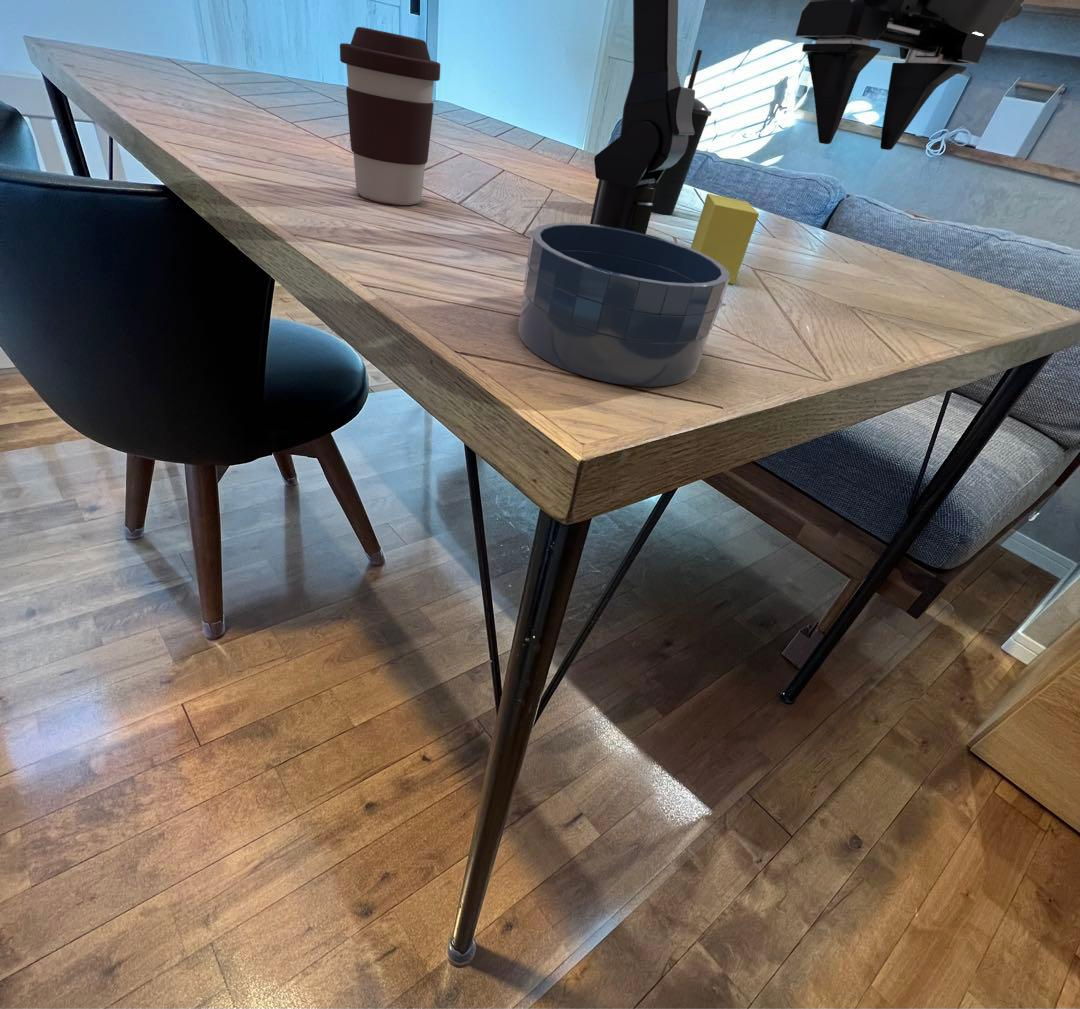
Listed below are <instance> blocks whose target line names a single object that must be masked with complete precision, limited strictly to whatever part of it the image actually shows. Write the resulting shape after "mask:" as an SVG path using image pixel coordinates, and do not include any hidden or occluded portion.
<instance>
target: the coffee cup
mask: <svg viewBox="0 0 1080 1009" xmlns="http://www.w3.org/2000/svg"><path fill="white" fill-rule="evenodd" d="M339 60H340V62H341V63H342V64H346V76H347V86H346V89H345V92H346V93H345V94H346V105H347V116H348V129H349V141H350V150H351V152H352V153H353V165H354V178H355V179H354V180H355V189H356V192H357V194H358V195H359V196H361V197H362V198H365V199H366V200H370V201H373V202H376V203H382V204H388V205H396V206H397V205H398V206H412V205H417V204H419V203H420V202H421V201H422V198H423V188H424V180H425V171H426V170H425V169H426V164H427V163H428V159H429V150H430V141H431V133H432V123H433V113H434V102H433V92H434V83H435V82H438V81H440V80H441V63H440V62H437V61H435V60H432V59H431V57H430V53H429V50H428V45H427V42H426V41H425V40H423V39H420V38H415V37H411V36H406V35H403V34H397V33H392V32H387V31H383V30H378V29H377V30H376V29H373V28H368V27H363V26H356V28H355V29H354V32H353V35H352V38H351V42H350V43H346V42H345V43H343V42H341V43H340V44H339Z"/></svg>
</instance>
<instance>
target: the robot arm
mask: <svg viewBox="0 0 1080 1009" xmlns="http://www.w3.org/2000/svg"><path fill="white" fill-rule="evenodd" d="M1024 1H1025V0H808V2H807V3H806V4H805V5H804V7H803V8H802V10H801V13H800V17H799V21H798V23H797V27H796V32H795V35H794V37H795V38H798V39H802V40H808V41H813V42H816V43H803V44H802V48H801V52H803V53H806V55H807V62H808V67H809V72H810V78H811V79H810V80H811V83H812V90H813V98H814V107H815V117H816V126H817V137H818V142H819V144H823V145H830V144H831V143H832V142H833V140H834V138H835V135H836V133H837V131H838V129H839V127H840V124H841V122H842V118H843V117H844V114H845V111H846V108H847V105H848V104H849V100H850V98H851V95H852V93H853V90H854V87H855V85H856V82H857V80H858V78H859V74H860V73H861V72H862V71H863V69H864V68H865V67H866V66H867V65H868V64H869V63H870V62H872V60H873V59H874V58H875V57H876V56H877V55H878V53H879V54H880V51H881V48H880V47H875V46H872V45H870V43H871V42H875V43H880V44H883V45H884V44H885V45H889V46H894V47H898V50H899V58H900V60H904V62H892V65H891V69H890V70H891V71H890V76H889V83H888V88H887V89H888V90H887V96H886V103H885V109H884V114H883V121H882V122H883V123H882V127H881V137H880V145H879V146H880V150H885V151H892V149H894V148H895V146H896V145H897V143H898V141H899V140H900V138H901V137H902V136H903V134H904V133H905V132H906V130H907V129H908V127H909V126H910V124H911V123H912V122H913V121H914V118H915V117H916V116H917V114H918V113H919V112H920V110H921V109H922V108H923V106H924V104H925V103H927V100H928V99H929V98H930V97H931V96H932V94H933V93H934V92H935V90H936V89H937V88H938V87H940V85H942V84H944V83H945V82H947V81H948V80H950V79H952V78H953V77H955V76H956V75H962V74H963V73H965V71H966V70H967V69H968V66H964V65H963V64H965V65H977V64H979V61H980V60H981V57H982V55H983V52H984V50H985V47H986V45H987V44H988V40H990V39H991V38H992V37H993V35H995V32H997V30H998V28H999V27H1000V26H1001V24H1002V23H1006V22H1008V21H1010V20H1011V19H1014V18H1017V17H1018V16H1019V15H1020V14H1021V13H1022V11H1023V8H1024V6H1023V3H1024ZM632 5H633V6H632V9H633V10H632V30H633V31H632V32H633V33H632V36H633V37H632V38H633V40H632V44H633V46H632V47H633V51H632V52H633V54H632V55H633V57H632V58H633V68H632V77H631V80H630V82H629V87H628V91H627V94H626V98H625V101H624V105H623V110H622V118H621V125H620V133H619V136H618V137H617V138H616V139H614V140H613V141H612V142H611V143H610V144H608V145H607V146H606V147H605V148H603V149H602V150H600V151H599V152H598V153H597V154H596V155H595V156H594V158H593V162H594V173H595V178H596V179H597V180H598V183H597V188H596V193H595V197H594V202H593V207H592V208H593V209H592V212H591V216H590V222H589V224H594V225H602V226H609V227H615V228H621V229H626V230H631V231H635V232H640V233H644V234H647V231H648V226H649V223H650V219H651V216H652V213H653V212H652V208H653V204H652V200H653V196H654V192H655V188H653V187H652V186H651V185H650V184H651V183H657V182H658V181H659V179H660V177H661V176H662V174H663V173H664V171H665V169H667V168H670V167H672V166H673V165H674V164H676V163H677V162H678V161H679V160H680V158H681V157H682V156H683V155H684V153H685V151H686V148H687V144H688V135H694V134H695V131H694V128H693V125H692V111H693V105H694V99H695V98H696V97H695V96H696V90H695V89H693V88H692V89H689V88H688V87H685V86H681V82H680V78H679V73H678V30H679V28H678V27H679V25H678V24H679V23H678V22H679V0H632ZM961 64H962V65H961Z"/></svg>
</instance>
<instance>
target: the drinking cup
mask: <svg viewBox="0 0 1080 1009" xmlns="http://www.w3.org/2000/svg"><path fill="white" fill-rule="evenodd" d="M702 54H703V50H701V49H696V54H695V58H694V61H693V67H692V70H691V72H690V76H689V81H688V84H687V88H689V89H693V87H694V84H695V80H696V76H697V73H698V69H699V65H700V61H701V59H702V58H701V57H702ZM711 116H712V111H711V110H709V109H708V107H707V106H706V105H705V104H704V103H703V102H702V101H700V100H699V99H697V98H696V97H695V99H694V105H693V111H692V125H693V128H694V131H695V134H694V135H688V144H687V148H686V151H685V153H684V155H683V156H682V157H681V158H680V160H679V161H678V162H677V163H676V164H674V165H673V166H672V167H670V168H667V169H665V171H664V173H663V174H662V176H661V177H660V179H659V181H658V182H657V183H651V184H650V185H651V186H652V187H653V188H655V192H654V196H653V200H652V204H653V208H652V212H651V213H655V214H659V215H667V216H668V215H669V216H671V215H673V214H674V212H675V209H676V206H677V203H678V201H679V198H680V195H681V192H682V189H683V187H684V184H685V182H686V179H687V176H688V173H689V171H690V167H691V165H692V162H693V160H694V157H695V154H696V151H697V148H698V147H699V143H700V140H701V137H702V135H703V132H704V130H705V128H706V125H707V121H708V119H709V117H711Z"/></svg>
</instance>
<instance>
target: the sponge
mask: <svg viewBox="0 0 1080 1009" xmlns="http://www.w3.org/2000/svg"><path fill="white" fill-rule="evenodd" d="M759 216H760V213H759V212H758V211H757V210H756V209H755V208H754V207H753V206H752V205H751V204H750V202H748V201H745V200H742V199H741V200H740V199H737V198H736V199H735V198H731V197H727V196H722V195H718V194H712V193H707V194H706V196H705V201H704V203H703V206H702V210H701V213H700V215H699V219H698V222H697V226H696V229H695V233H694V236H693V239H692V242H691V245H690V248H692V249H694V250H696V251H698V252H701V253H703V254H705V255H707V256H709V257H711V258H712V259H714V260H716V261H718V262H719V263H720V264H721V265H723V266H724V267H725V268H726V269H727V270H728V272H729V275H730V279H729V282H728V285H729V284H730V285H735V282H736V280H737V277H738V274H739V271H740V269H741V266H742V263H743V260H744V258H745V254H746V253H747V252H746V251H747V248H748V247H749V243H750V241H751V238H752V236H753V233H754V230H755V227H756V224H757V221H758V219H759Z"/></svg>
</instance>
